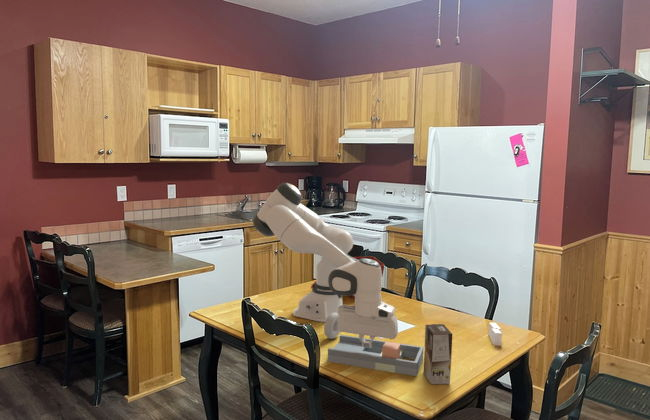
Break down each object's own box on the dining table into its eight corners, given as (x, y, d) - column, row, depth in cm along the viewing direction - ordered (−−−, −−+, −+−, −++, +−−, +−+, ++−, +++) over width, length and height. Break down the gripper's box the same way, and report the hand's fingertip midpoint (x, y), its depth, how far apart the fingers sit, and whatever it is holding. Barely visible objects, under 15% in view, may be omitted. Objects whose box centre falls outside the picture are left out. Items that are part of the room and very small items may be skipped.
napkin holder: (486, 332, 199) (487, 318, 199) (515, 339, 192) (516, 325, 191) (471, 343, 188) (471, 328, 187) (500, 351, 181) (501, 336, 180)
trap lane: (327, 361, 168) (327, 349, 167) (340, 346, 181) (340, 334, 181) (416, 376, 158) (417, 363, 158) (423, 359, 171) (423, 346, 171)
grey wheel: (329, 343, 184) (330, 317, 182) (321, 341, 186) (322, 315, 184) (343, 335, 192) (343, 310, 191) (335, 333, 194) (336, 308, 193)
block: (381, 361, 163) (382, 347, 162) (385, 355, 168) (385, 341, 167) (396, 364, 161) (397, 349, 161) (399, 358, 166) (400, 343, 165)
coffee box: (451, 384, 153) (453, 334, 151) (430, 384, 153) (433, 334, 151) (441, 371, 162) (443, 323, 160) (422, 371, 162) (424, 323, 160)
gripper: (335, 306, 166) (334, 346, 168) (396, 314, 159) (394, 355, 161) (340, 301, 172) (340, 339, 174) (399, 308, 165) (398, 347, 167)
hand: (366, 347), depth 167 cm, fingers closed
